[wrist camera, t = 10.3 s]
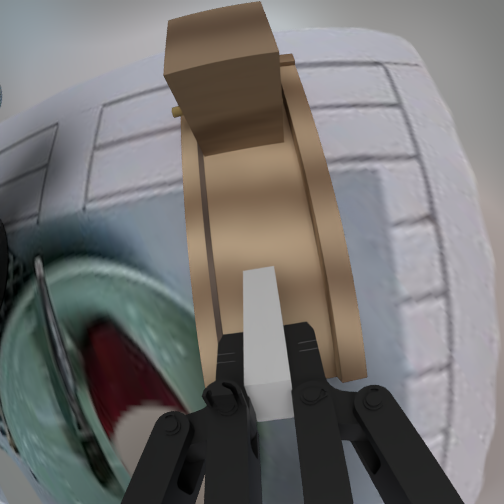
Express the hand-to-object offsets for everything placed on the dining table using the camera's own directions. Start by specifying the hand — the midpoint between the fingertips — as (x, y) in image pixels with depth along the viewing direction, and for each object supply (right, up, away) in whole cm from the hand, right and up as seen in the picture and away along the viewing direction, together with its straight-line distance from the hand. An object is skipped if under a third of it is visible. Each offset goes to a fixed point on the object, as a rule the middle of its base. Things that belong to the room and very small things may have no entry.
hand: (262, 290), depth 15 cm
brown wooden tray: (0, +5, +7) cm, 8 cm away
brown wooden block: (-2, +12, +7) cm, 14 cm away
